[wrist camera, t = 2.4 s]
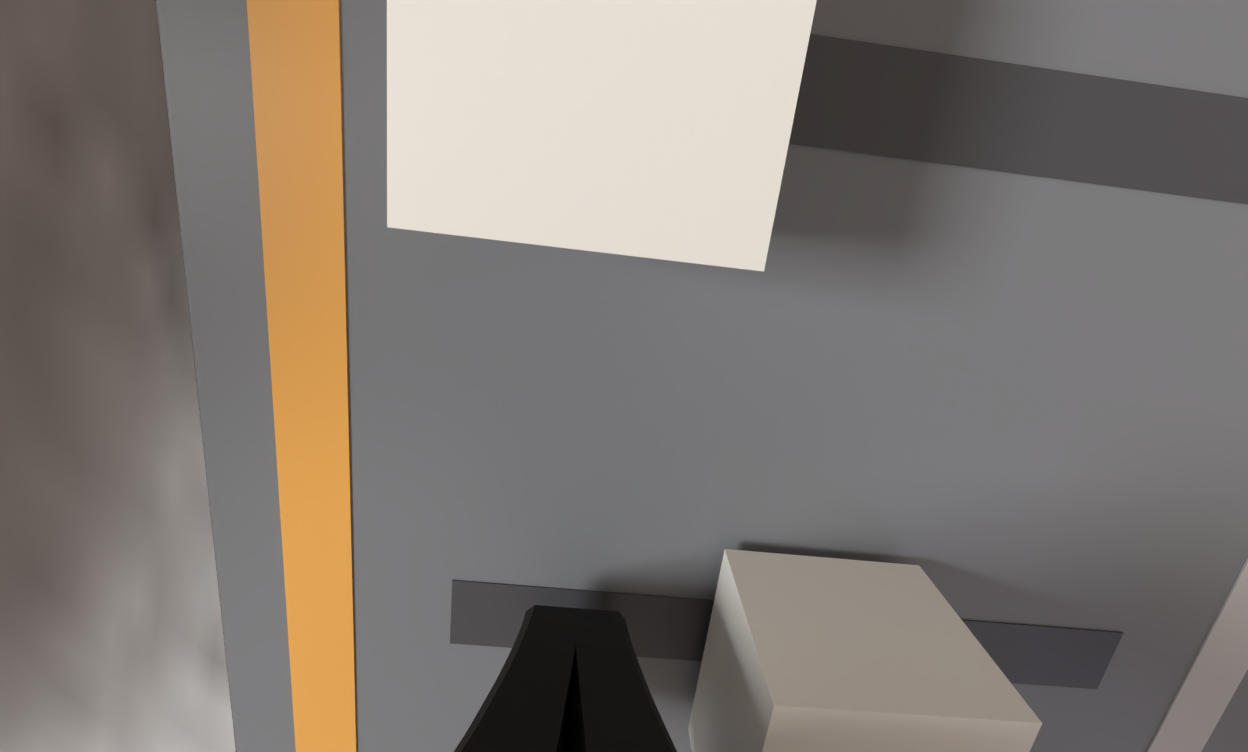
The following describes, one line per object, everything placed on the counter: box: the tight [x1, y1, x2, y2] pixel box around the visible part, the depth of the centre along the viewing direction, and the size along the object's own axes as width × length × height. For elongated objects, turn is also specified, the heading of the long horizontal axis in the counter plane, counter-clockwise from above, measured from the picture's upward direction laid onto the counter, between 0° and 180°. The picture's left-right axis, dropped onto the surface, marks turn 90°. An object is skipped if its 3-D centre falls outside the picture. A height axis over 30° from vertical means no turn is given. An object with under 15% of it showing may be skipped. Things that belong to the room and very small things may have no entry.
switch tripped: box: [688, 549, 1042, 752], centre depth 9 cm, size 3×4×3 cm
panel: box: [156, 0, 1248, 752], centre depth 11 cm, size 18×24×2 cm
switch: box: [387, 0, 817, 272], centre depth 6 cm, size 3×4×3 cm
